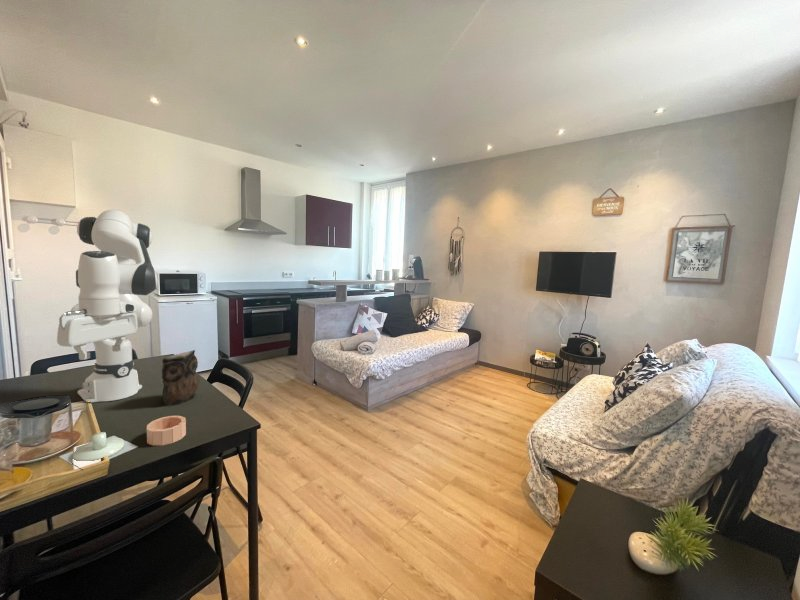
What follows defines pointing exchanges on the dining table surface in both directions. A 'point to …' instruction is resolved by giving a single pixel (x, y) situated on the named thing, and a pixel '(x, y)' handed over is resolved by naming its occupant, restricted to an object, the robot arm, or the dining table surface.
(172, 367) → the owl
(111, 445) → the lid
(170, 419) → the bowl
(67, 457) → the mat
